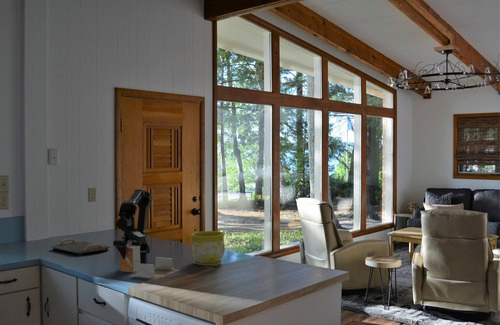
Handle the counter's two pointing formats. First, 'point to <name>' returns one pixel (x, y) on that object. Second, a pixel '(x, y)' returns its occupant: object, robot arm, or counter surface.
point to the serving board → (79, 247)
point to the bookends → (148, 269)
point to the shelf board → (160, 273)
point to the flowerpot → (208, 247)
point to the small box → (130, 259)
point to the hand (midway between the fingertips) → (130, 257)
